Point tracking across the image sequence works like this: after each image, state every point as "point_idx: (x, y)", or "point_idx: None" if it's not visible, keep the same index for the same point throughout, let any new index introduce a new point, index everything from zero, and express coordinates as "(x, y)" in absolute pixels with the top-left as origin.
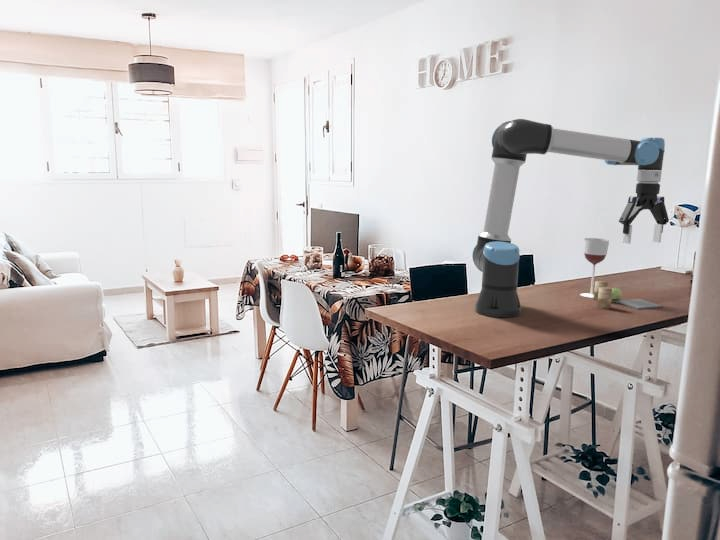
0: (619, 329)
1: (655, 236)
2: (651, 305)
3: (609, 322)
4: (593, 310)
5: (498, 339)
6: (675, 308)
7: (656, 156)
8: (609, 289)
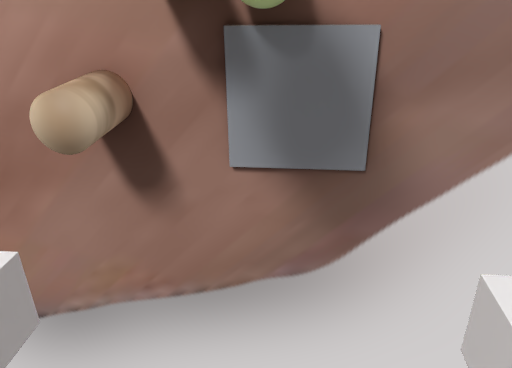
0: None
1: (505, 362)
2: (320, 154)
3: None
4: None
5: None
6: (406, 195)
7: None
8: (67, 151)
